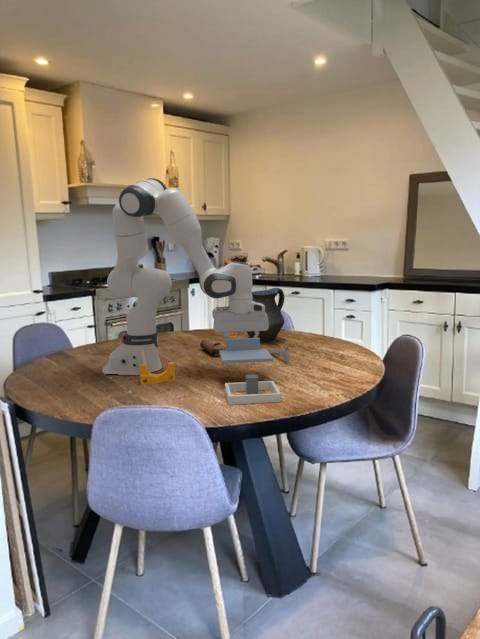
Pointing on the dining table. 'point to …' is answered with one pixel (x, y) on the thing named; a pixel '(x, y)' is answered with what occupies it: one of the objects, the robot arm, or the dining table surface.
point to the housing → (252, 398)
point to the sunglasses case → (212, 346)
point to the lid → (244, 351)
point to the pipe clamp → (157, 375)
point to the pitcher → (270, 313)
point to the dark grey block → (251, 384)
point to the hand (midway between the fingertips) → (241, 343)
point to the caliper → (282, 353)
